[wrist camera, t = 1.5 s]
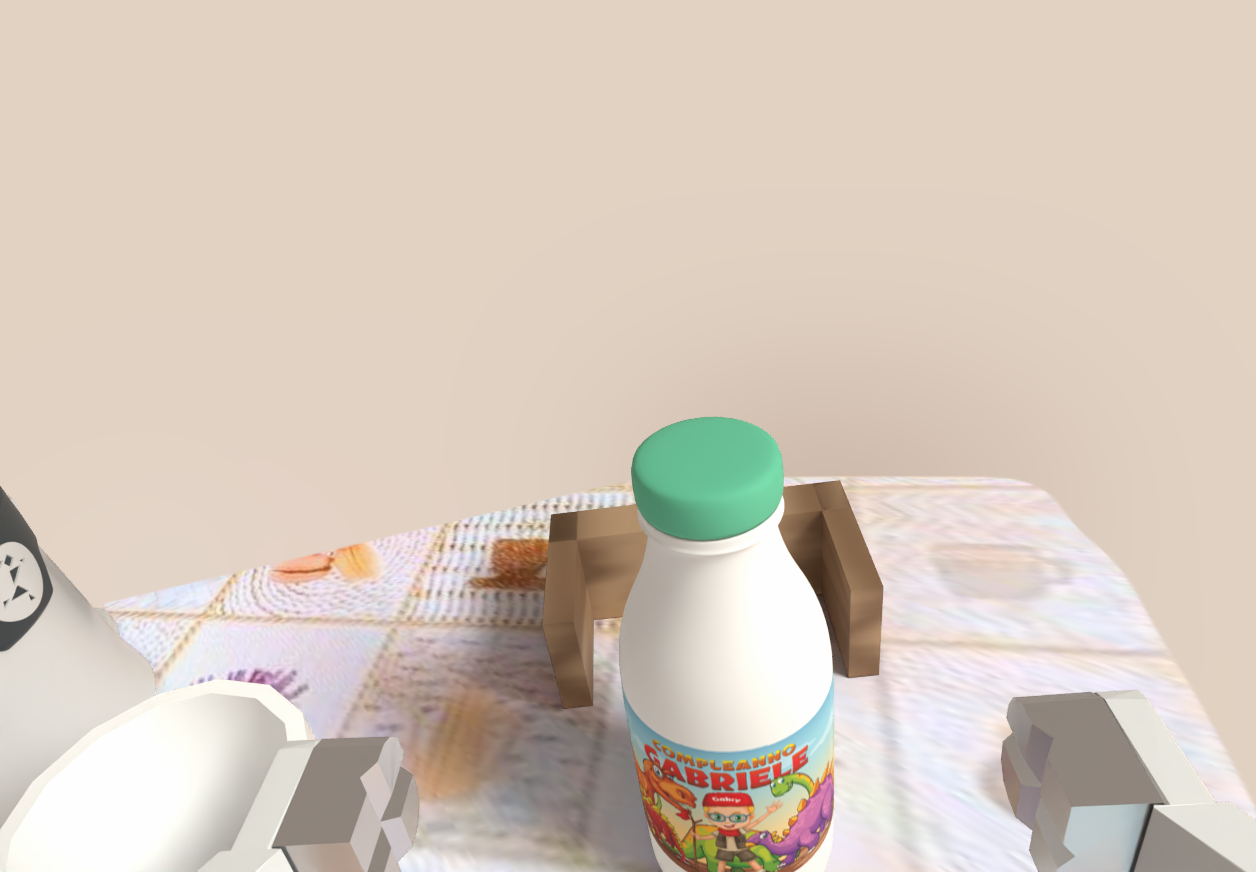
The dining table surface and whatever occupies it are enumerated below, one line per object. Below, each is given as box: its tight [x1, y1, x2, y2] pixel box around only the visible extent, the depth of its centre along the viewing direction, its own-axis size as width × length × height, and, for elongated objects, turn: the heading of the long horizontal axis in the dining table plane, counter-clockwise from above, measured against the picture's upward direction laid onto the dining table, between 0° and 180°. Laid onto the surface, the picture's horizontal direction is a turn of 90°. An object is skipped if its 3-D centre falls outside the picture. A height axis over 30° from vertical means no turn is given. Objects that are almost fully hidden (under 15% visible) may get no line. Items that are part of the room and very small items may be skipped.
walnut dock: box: [542, 480, 883, 708], centre depth 44 cm, size 16×8×6 cm, turn 91°
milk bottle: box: [619, 417, 834, 872], centre depth 31 cm, size 8×8×20 cm
